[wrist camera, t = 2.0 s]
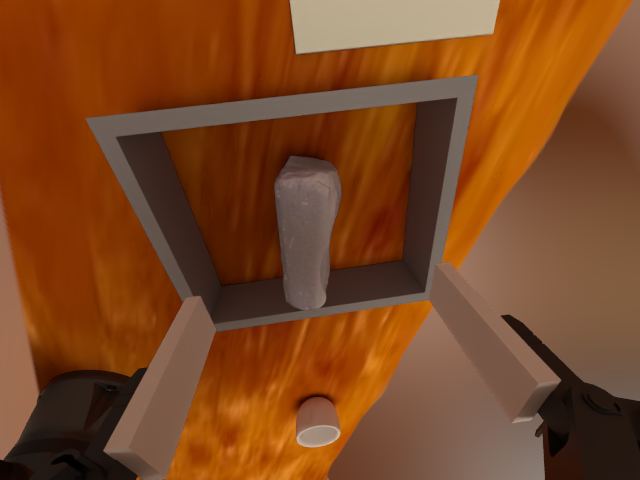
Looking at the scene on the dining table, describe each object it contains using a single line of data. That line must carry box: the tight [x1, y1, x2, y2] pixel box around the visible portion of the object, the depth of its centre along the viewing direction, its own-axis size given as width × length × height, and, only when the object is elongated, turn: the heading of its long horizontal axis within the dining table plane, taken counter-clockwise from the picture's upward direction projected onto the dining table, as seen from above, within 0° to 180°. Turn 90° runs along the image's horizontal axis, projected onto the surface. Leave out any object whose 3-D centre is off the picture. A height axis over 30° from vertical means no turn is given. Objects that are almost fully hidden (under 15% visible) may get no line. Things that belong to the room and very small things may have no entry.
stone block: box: [274, 156, 342, 310], centre depth 22 cm, size 12×5×10 cm, turn 178°
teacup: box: [296, 397, 340, 447], centre depth 44 cm, size 10×8×5 cm
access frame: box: [85, 75, 478, 332], centre depth 23 cm, size 25×20×6 cm
